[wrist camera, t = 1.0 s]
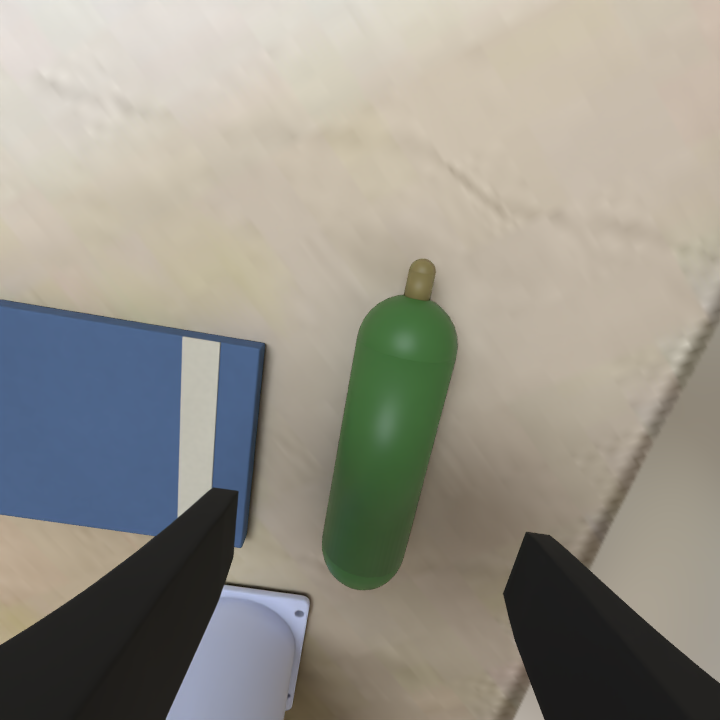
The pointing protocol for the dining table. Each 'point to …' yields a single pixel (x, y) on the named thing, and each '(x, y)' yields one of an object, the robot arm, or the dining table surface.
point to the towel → (122, 419)
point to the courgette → (388, 432)
